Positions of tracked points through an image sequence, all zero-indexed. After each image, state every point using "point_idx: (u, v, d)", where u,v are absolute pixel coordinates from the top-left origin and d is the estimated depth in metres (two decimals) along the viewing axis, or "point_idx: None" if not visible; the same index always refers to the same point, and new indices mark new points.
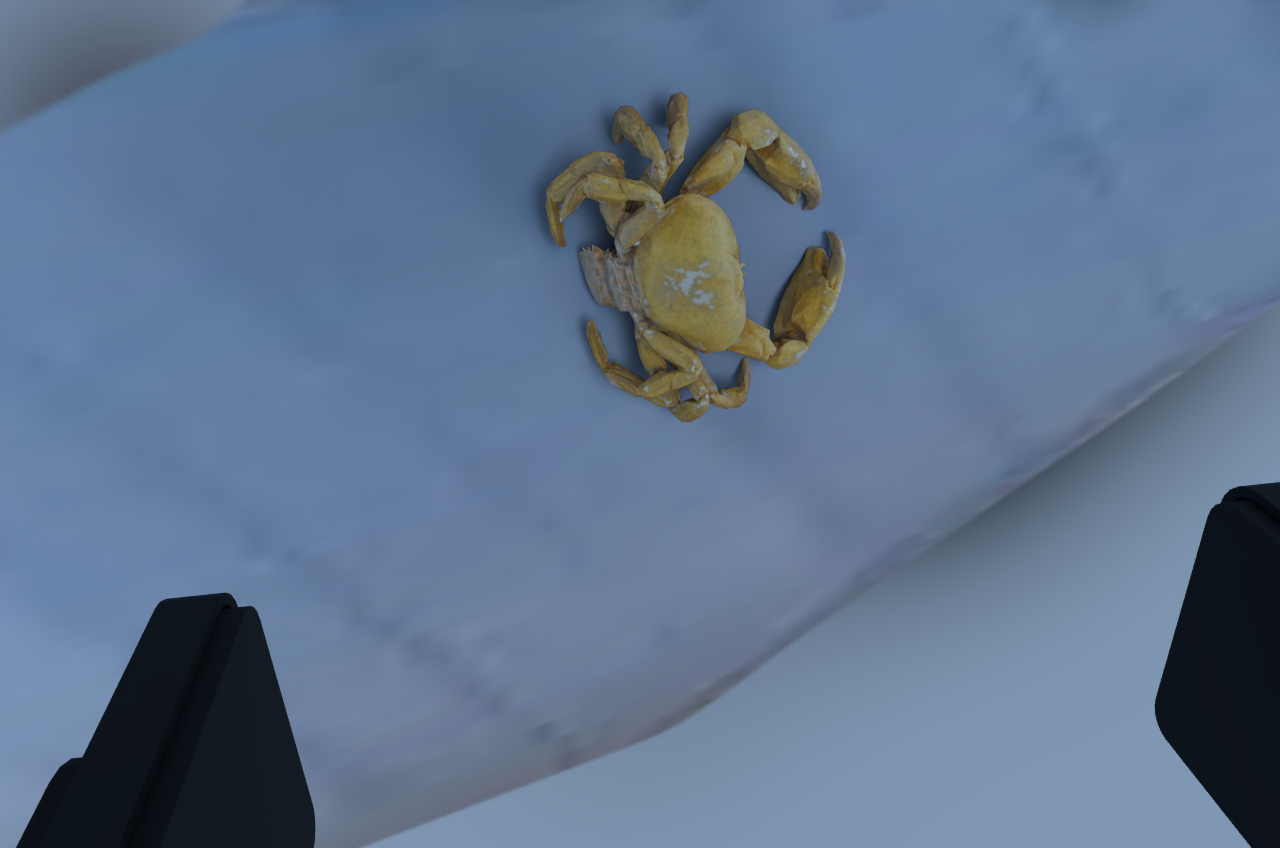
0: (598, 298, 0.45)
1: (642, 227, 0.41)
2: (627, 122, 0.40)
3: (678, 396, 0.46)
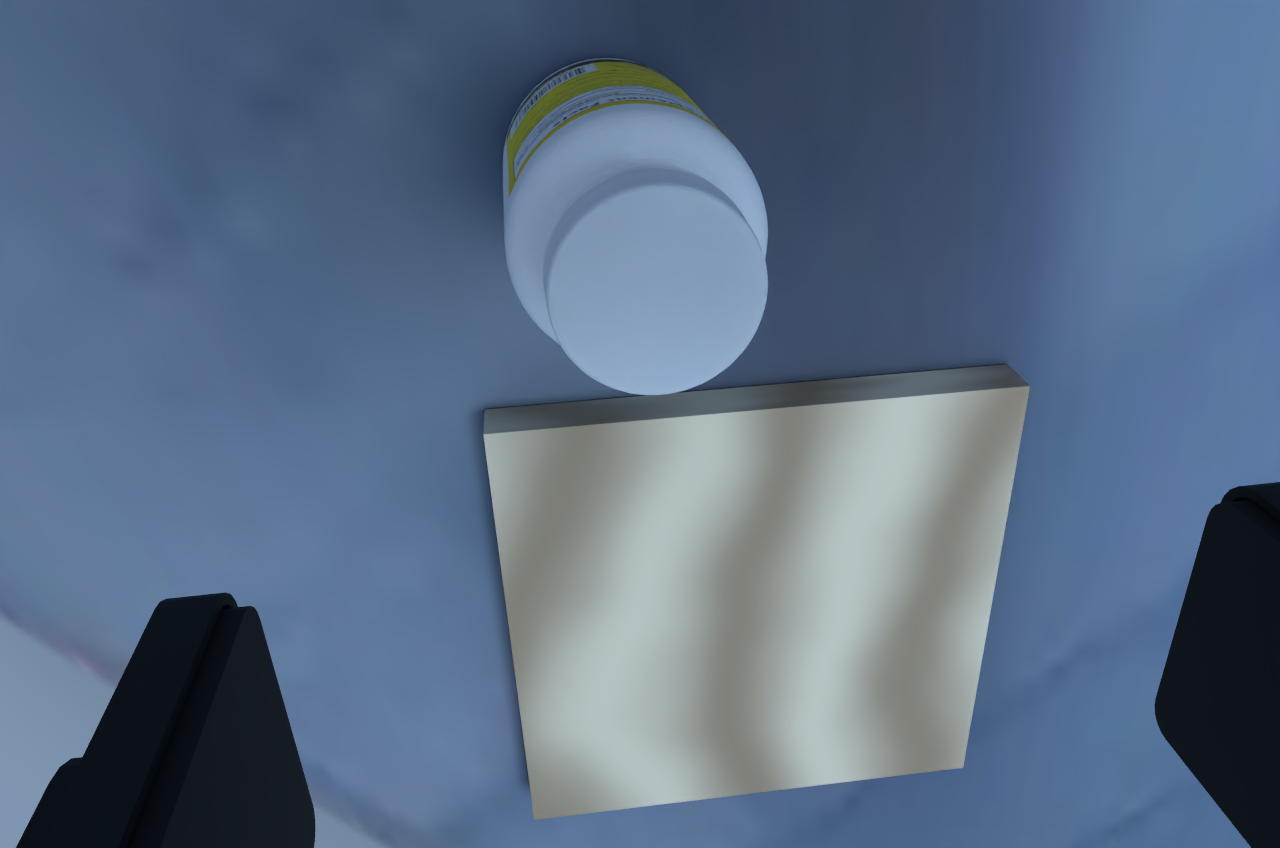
0: None
1: None
2: None
3: None
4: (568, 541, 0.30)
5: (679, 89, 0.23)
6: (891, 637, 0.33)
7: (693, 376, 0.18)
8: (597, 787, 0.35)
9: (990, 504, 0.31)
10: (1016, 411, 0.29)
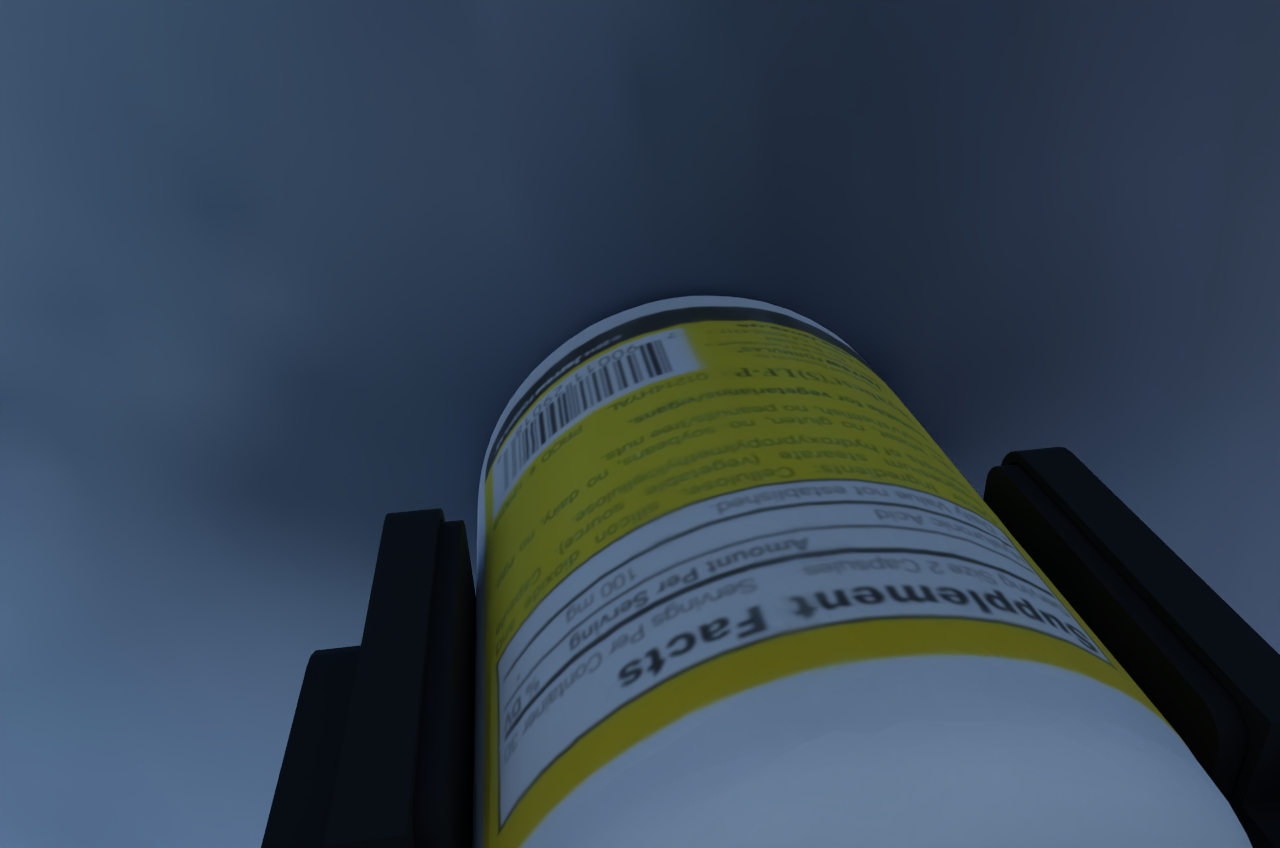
0: None
1: None
2: None
3: None
4: None
5: (888, 399, 0.10)
6: None
7: None
8: None
9: None
10: None
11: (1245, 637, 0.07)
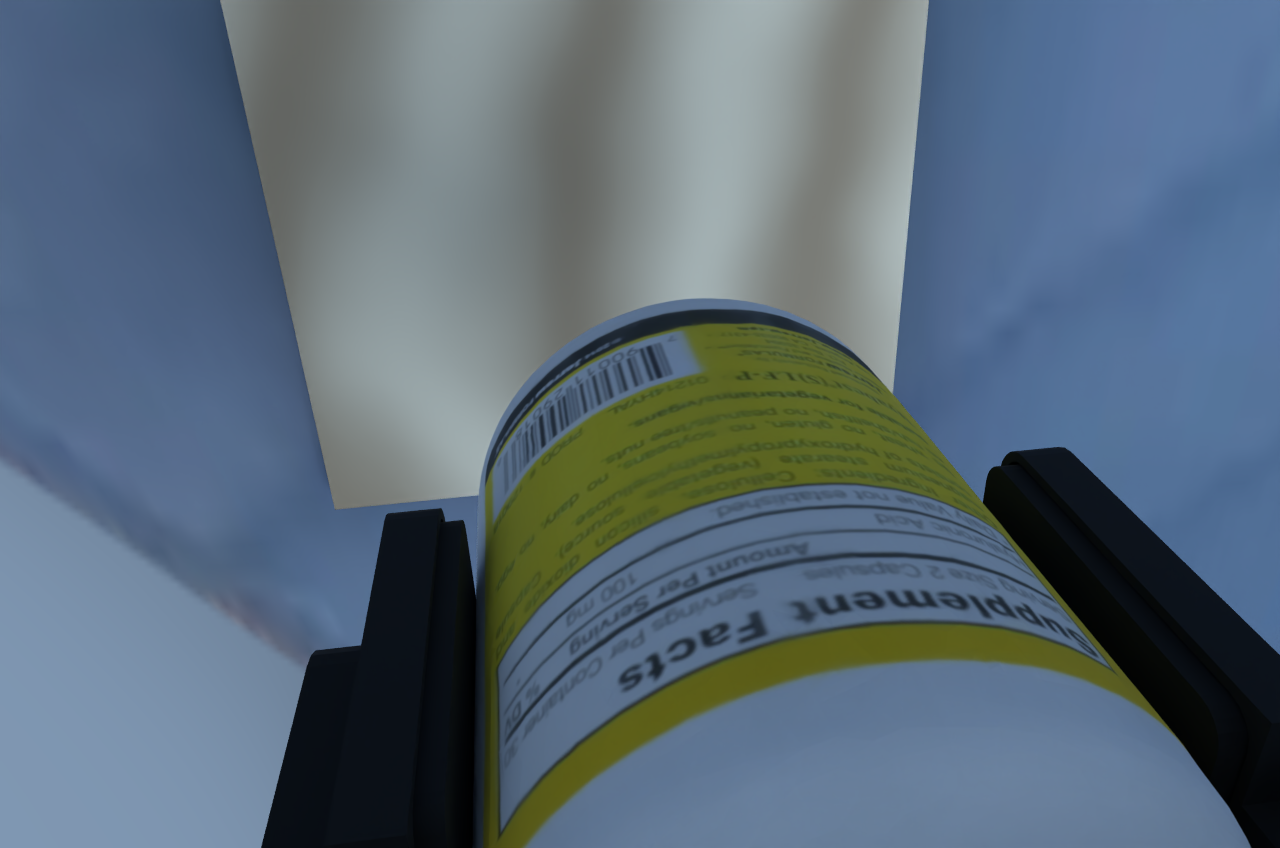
0: None
1: None
2: None
3: None
4: (329, 49, 0.22)
5: (888, 402, 0.10)
6: (782, 240, 0.25)
7: None
8: (413, 462, 0.27)
9: (901, 24, 0.23)
10: None
11: (1245, 637, 0.07)
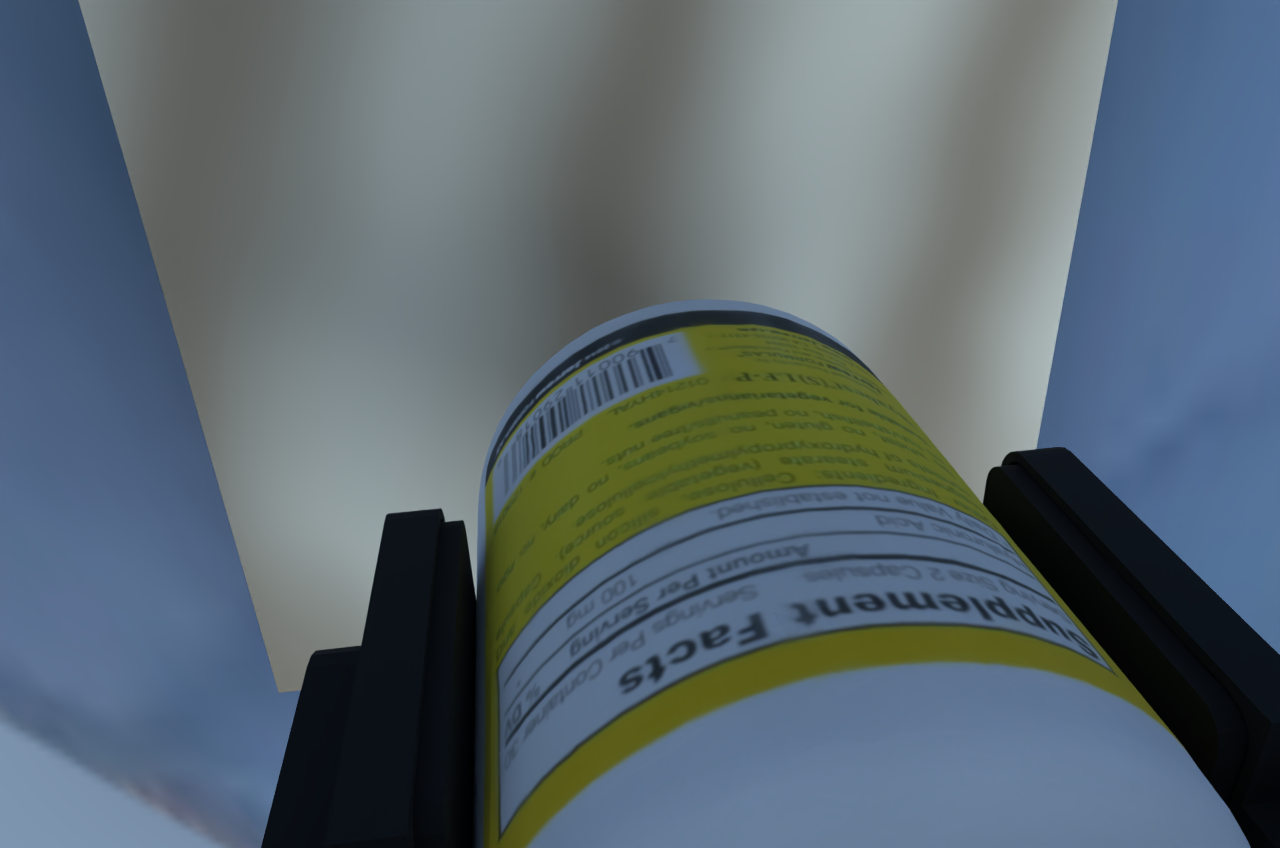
0: None
1: None
2: None
3: None
4: (250, 91, 0.15)
5: (889, 403, 0.10)
6: (887, 347, 0.18)
7: None
8: None
9: (1072, 54, 0.16)
10: None
11: (1245, 637, 0.07)
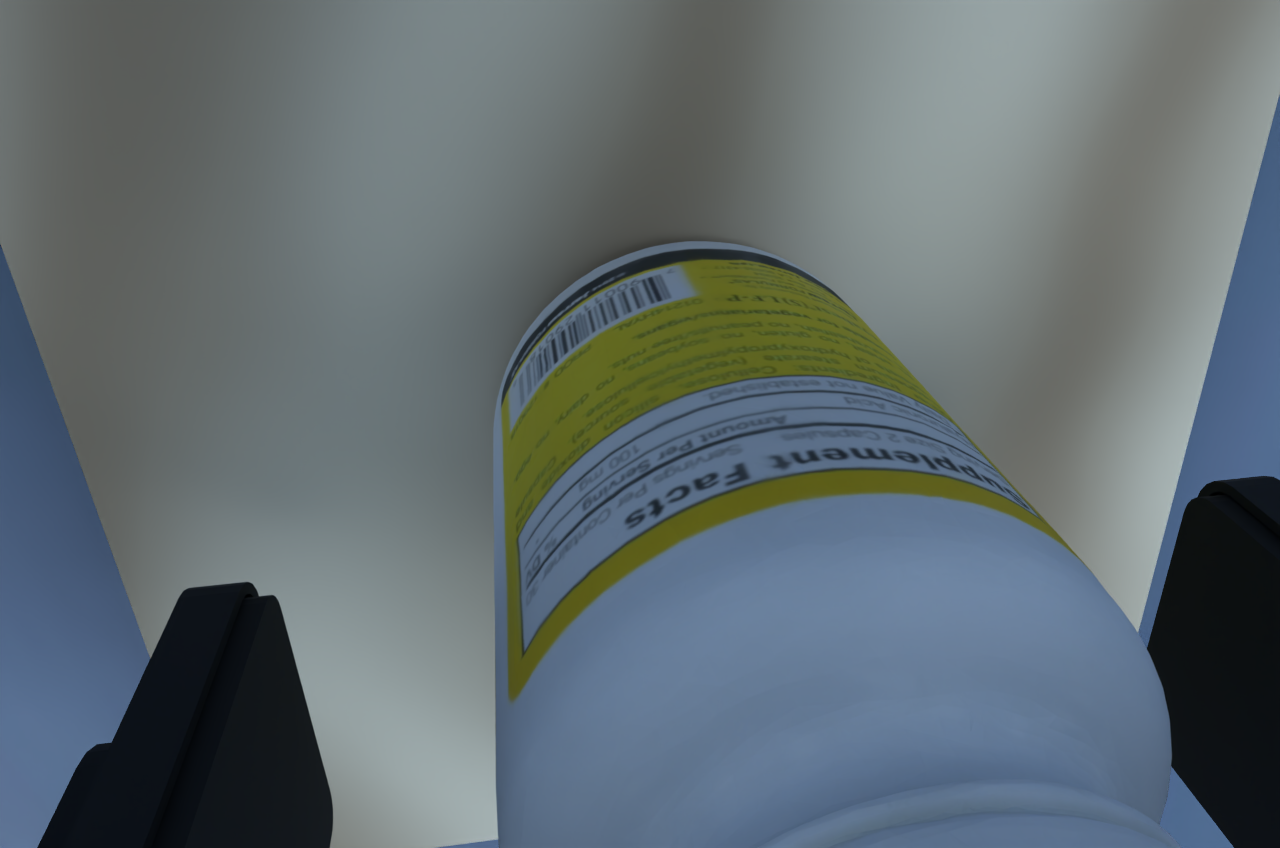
0: None
1: None
2: None
3: None
4: (168, 167, 0.11)
5: (863, 327, 0.11)
6: None
7: None
8: (354, 806, 0.17)
9: (1230, 111, 0.13)
10: None
11: None
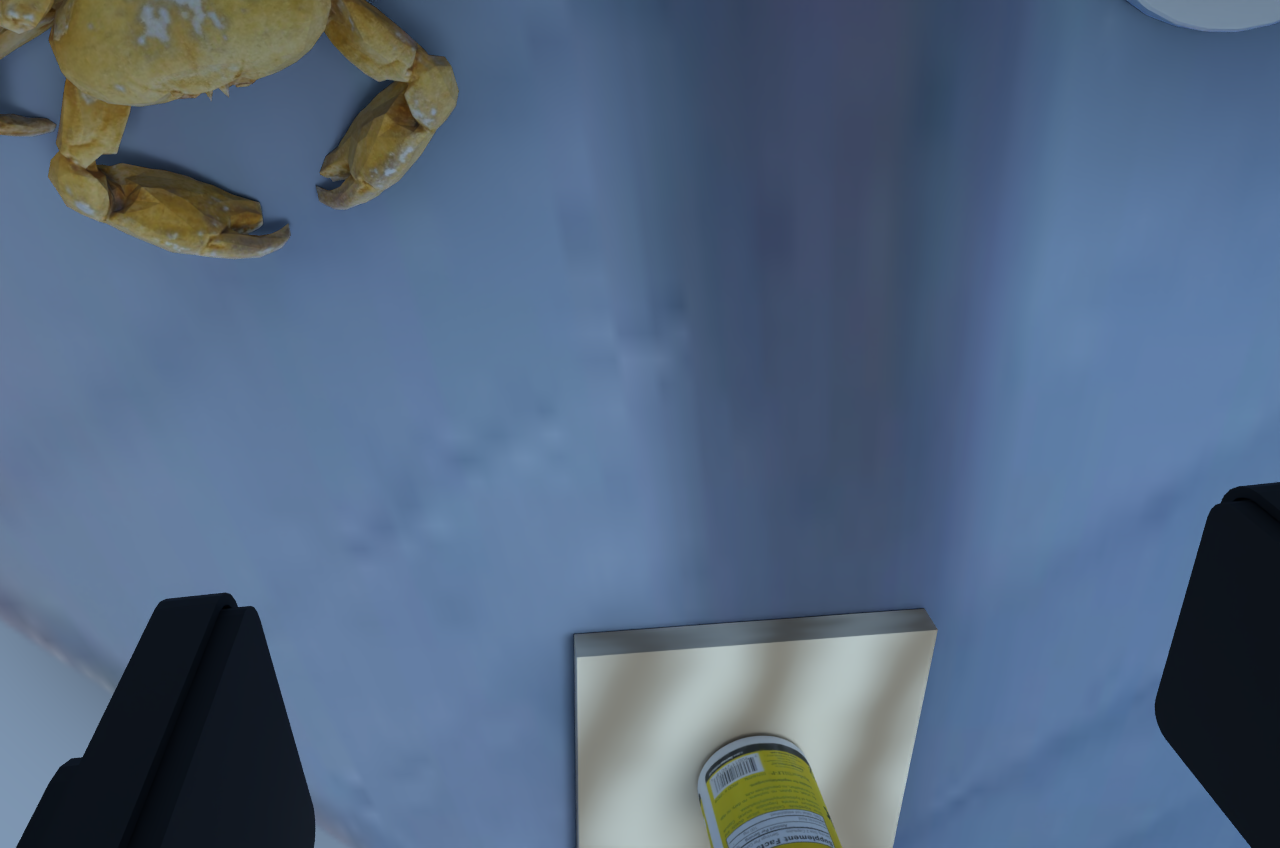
0: None
1: None
2: None
3: None
4: (625, 722, 0.43)
5: (804, 775, 0.43)
6: (840, 785, 0.47)
7: None
8: None
9: (910, 701, 0.45)
10: (928, 645, 0.44)
11: None
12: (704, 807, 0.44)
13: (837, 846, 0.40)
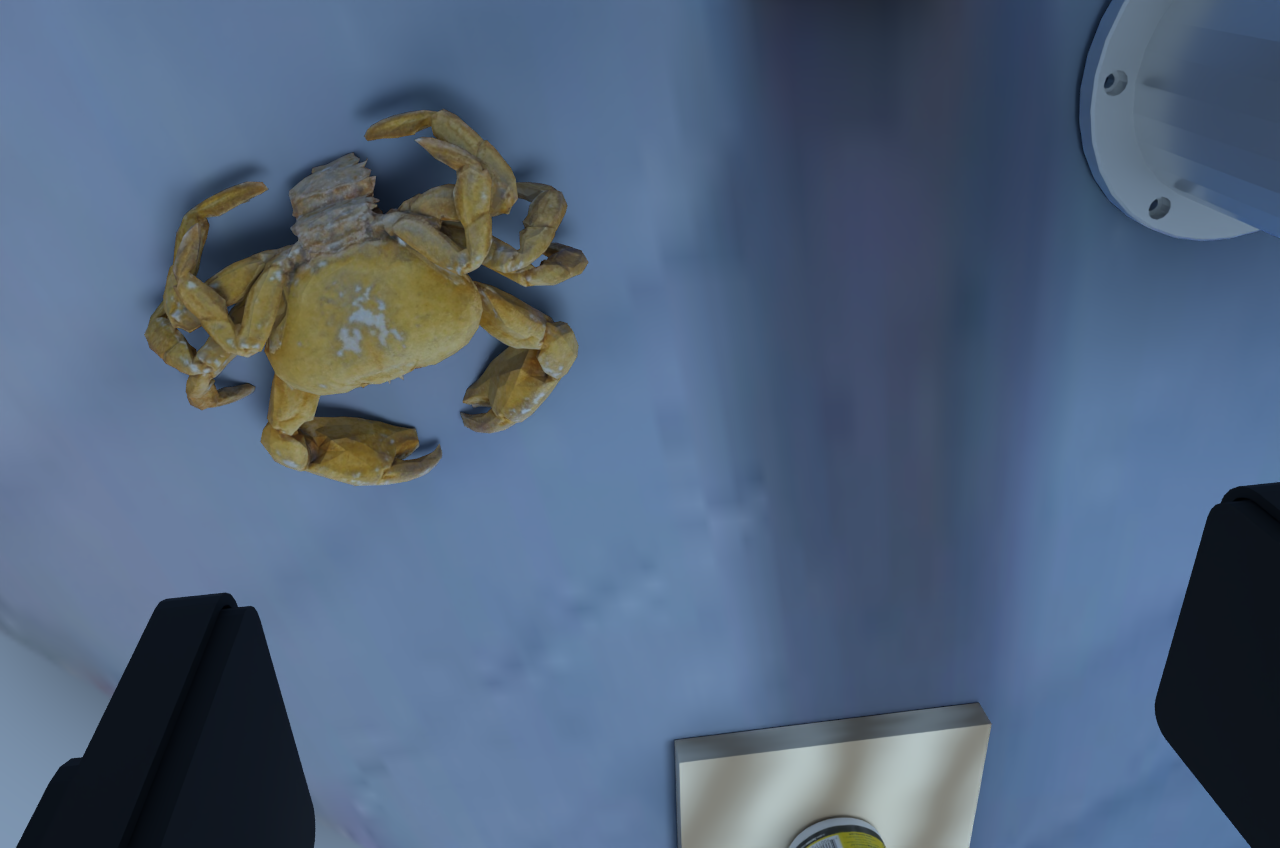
0: (299, 192, 0.33)
1: (429, 249, 0.32)
2: (549, 207, 0.33)
3: (190, 329, 0.33)
4: (721, 812, 0.50)
5: None
6: None
7: None
8: None
9: (969, 782, 0.52)
10: (983, 736, 0.50)
11: None
12: None
13: None
